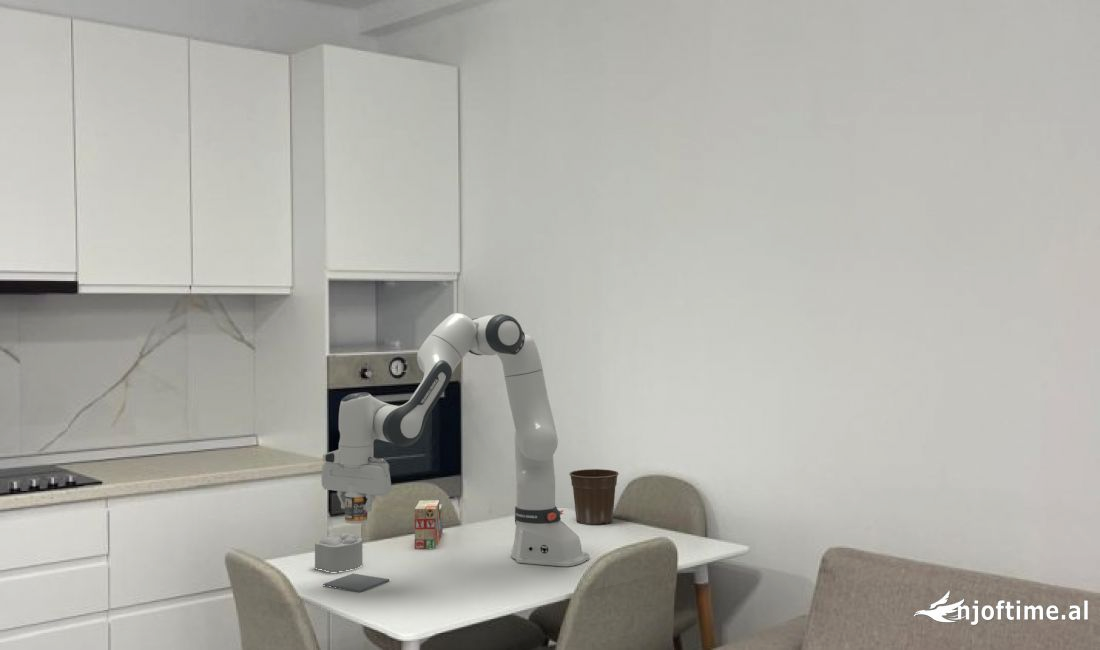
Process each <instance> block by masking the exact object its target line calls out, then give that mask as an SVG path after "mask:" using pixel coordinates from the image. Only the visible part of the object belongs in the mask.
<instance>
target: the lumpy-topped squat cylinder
mask: <svg viewBox="0 0 1100 650" xmlns="http://www.w3.org/2000/svg"><path fill="white" fill-rule="evenodd" d="M361 565H362V566H363V538H362V537H360V536H357V535H356V534H351V533H348V532H344V533H342V534H340V535H336V534H335V533H329V534H328V535H326V537H323V538H322V539H320V540H316V542H314V569H315V568H317V569H322V570H326V571H329V572H339V571H346V570H350V569H355V568H358V567H360V566H361ZM362 566H361V567H362ZM361 567H360V568H361ZM358 569H359V568H358ZM355 570H356V569H355Z"/></svg>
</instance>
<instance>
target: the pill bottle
mask: <svg viewBox="0 0 1100 650" xmlns="http://www.w3.org/2000/svg"><path fill="white" fill-rule="evenodd" d="M347 489H348V492H347V493H346V494H345V509H344V522H345V523H346V524H351V525H357V524H359V525H360V524H364V523H367V521H368V512H367V511H363V504H366V502H367V500H368V498H366V494H361V493H356V492H355V490H356V485H349V484H347Z"/></svg>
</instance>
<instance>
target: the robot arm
mask: <svg viewBox="0 0 1100 650" xmlns="http://www.w3.org/2000/svg"><path fill="white" fill-rule="evenodd" d="M468 353H470V354H473V355H476V356H495V355H496V356H498V358H499V359H500V361H501V364H502V371H503V376H504V381H505V386H506V392H507V398H508V402H509V408H510V410H511V411H510V412H511V415H512V419H513V424H514V429H515V432H514V456H515V474H516V475H515V476H516V477H515V478H516V481H515V482H516V506H515V507H514V524H515V533H514V541H513V545H512V546H513V547H512V550H511V552H510V553H511V554H510V557H511V558H512V559H514V560H515V562H516V563H517V564H518V563H519V564H528V565H541V566H552V567H553V566H554V567H555V566H556V567H572V566H577V565H580V564H583V563H585V562H587V561H588V560H589V559H590V554H589V552H586V551H585V552H584V551H582V543H581V539H580V536H579V535H578V534H577V533H576V532H574V531H573V530H572V529H571V528H570V527H569V526H568V525H567V524H565V523H564V522H563V521H562V520H561V515H564V509H562V510H559V509H558V508H557V506H556V475H555V462H554V454H555V453H556V451H557V448H558V444H559V443H558V442H559V441H558V439H559V438H558V436H557V435H558V434H557V430H556V425H555V421H554V417H553V412H552V408H551V405H550V400H549V396H548V391H547V387H546V380H545V376H544V370H543V363H542V360H541V356H540V353H539V350H538V347H537V344H536V342H535V339H533V337H532V336H531V335H529V334H526V333H525V332H524V331H523V329H522V327H521V324H520V322H519V321H518V320H517V319H515V318H514V316H511V315H509V314H502V313H499V314H488V315H484V316H482V317H476V318H472V319H471V318H470V317H469V316H468V315H466V314H463V313H461V312H455V313H451V314H449V315H448V316H447V317H446V318H444V319H443V320H442V322H440V323H439V324H438V325H437V326H436V327H435V329H433V331H432V332H431V333H430V334H429V335H428V336H427V338H426V339H425V340H424V342H423V343H422V344H421V346H420V347H419V350H418V352H417V353H416V361H417V362H416V363H417V364H418V367H419V369H420V371H422V373H423V379H422V380H421V382H420V384H418V387H417V388H416V389H415V391H414V392H413V394H412V395H411V397H410V399H409V400H408V401H407V402H405V403H404V404H402V405H394V404H390V403H387V402H384V401H381V400H380V399H377V398H375V397H374V396H373V395H372V394H370V393H369V392H365V391H364V392H363V391H361V392H354V393H350V394H347V395H346V396H344V397H342V399H341V400H340V405H339V410H338V431H339V440H338V441H339V442H338V449H335V450H332V451H329V452H327V453H324V454H322V461H323V464H322V466H321V467H322V468H321V486H322V488H323V489H324V490H327V491H328V490H329V491H334V492H335V491H336V495H337V498H338V500H339V501H340V508H341V509H343V510H345V494H346V493H347V492H348V489H347V484H349V485H356V490H355V492H356V493H361V494H366V498H367V502H366V504H363V511H367V513H369V512H372V507H373V506H372V504H373V503H374V502H375V499H376V496H381V497H382V496H386V495H389V494H390V493H391V492H392V481H391V480H392V479H391V474H390V464H389V462H388V461H387V460H385V458H383V457H382V458H378V457H374V442H375V440H379V441H383V442H386V443H391V444H393V445H395V446H397V447H401V448H402V447H404V448H405V447H409V446H412V445H414V444H415V443H416V442H418V440H419V439H420V438H421V436H422V434H423V431H424V429H425V425H426V423H427V419H428V417H429V416H430V413H431V412H432V411H433V409H434V407H436V404H437V402H438V401H439V400H440V398H441V396H442V395H443V393H444V392H445V390H446V389H447V387H448V385H449V383H450V380H451V379H452V375H453V373H454V371H455V370H456V368H457V367H458V366H459V364H460V363H461V362H462V361H463V359H464V357H465V356H466V355H467V354H468ZM586 560H587V561H586Z"/></svg>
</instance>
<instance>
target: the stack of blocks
mask: <svg viewBox="0 0 1100 650" xmlns="http://www.w3.org/2000/svg"><path fill="white" fill-rule="evenodd" d="M443 517H444V516H443V504H442V503H440V500H439V499H436V500H429V499H428V500H419V501H418V503H417V505H416V506H415V508H414V550H430V549H429V548H436V549H437V547H438V546H439V545H438V544H439V543H440V540H441V538H442V536H443ZM436 546H437V547H436Z"/></svg>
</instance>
